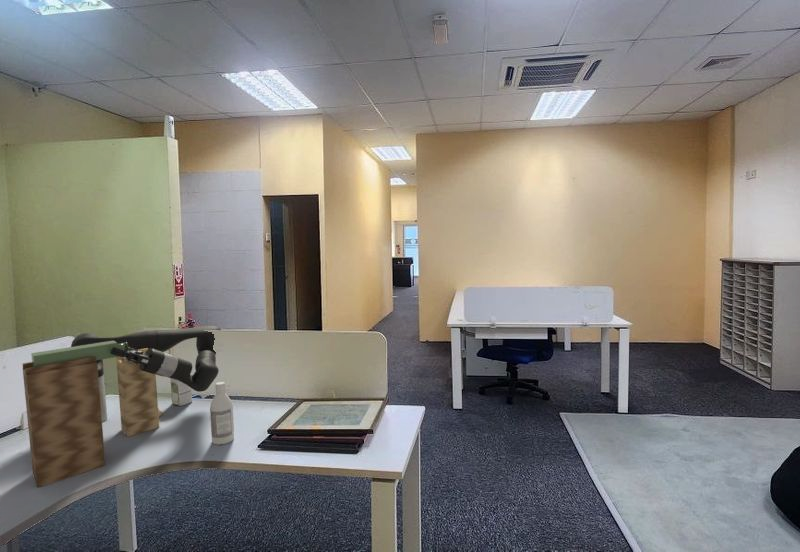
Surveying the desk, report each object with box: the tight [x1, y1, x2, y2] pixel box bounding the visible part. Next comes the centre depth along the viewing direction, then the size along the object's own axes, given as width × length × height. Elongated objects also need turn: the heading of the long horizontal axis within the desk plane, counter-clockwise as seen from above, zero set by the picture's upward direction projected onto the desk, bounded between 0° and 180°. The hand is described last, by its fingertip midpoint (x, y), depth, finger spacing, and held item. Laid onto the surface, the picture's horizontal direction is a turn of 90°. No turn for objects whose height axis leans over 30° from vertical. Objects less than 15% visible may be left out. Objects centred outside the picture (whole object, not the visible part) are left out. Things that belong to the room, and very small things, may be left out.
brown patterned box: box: [22, 356, 106, 488], centre depth 128 cm, size 16×10×34 cm, turn 136°
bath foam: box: [209, 381, 235, 446], centre depth 146 cm, size 7×7×20 cm
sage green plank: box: [30, 340, 128, 367], centre depth 130 cm, size 23×4×4 cm, turn 136°
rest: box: [115, 348, 160, 437], centre depth 156 cm, size 10×8×28 cm
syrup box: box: [170, 378, 193, 407], centre depth 180 cm, size 6×6×14 cm
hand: (108, 347), depth 135 cm, fingers open, 8 cm apart
